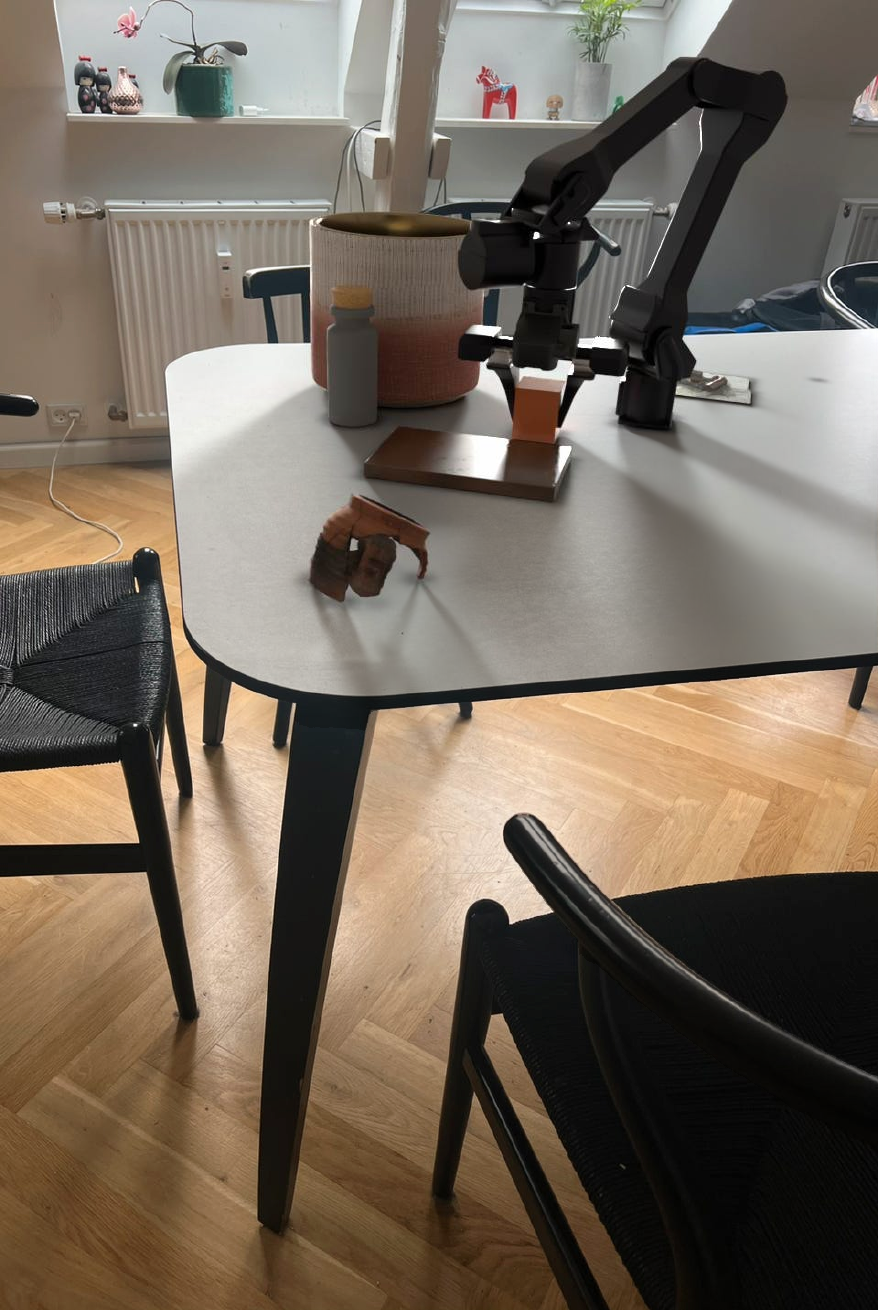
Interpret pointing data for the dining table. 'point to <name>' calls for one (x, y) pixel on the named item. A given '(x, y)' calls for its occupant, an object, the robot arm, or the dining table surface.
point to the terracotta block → (537, 409)
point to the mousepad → (715, 387)
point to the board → (470, 463)
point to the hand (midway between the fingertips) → (537, 424)
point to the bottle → (352, 358)
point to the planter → (399, 300)
